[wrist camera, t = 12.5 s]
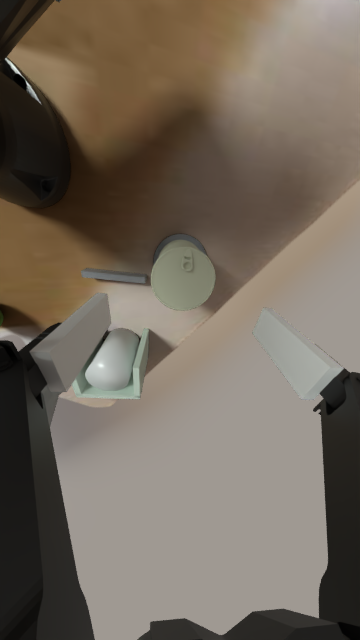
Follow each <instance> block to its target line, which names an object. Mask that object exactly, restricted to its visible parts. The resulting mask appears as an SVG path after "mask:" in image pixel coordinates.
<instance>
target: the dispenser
mask: <svg viewBox="0 0 360 640" xmlns="http://www.w3.org/2000/svg"><path fill="white" fill-rule="evenodd" d="M81 273H82V277H86V278H96V279H106V280H116V281H125V282H135V283H146V281H147V275H146V274H137V273H128V272H119V271H109V270H100V269H91V268H86V269H84V270H82V271H81ZM148 348H149V329H144V331H143V334H142V338H141V341H140V340H139V338H138V336H137V335H136V334H135V333H134V332H132V331H131V330H128V329H124V328H118V329H114V330H112V331H111V332H110V333H109V334H108V336H107V338H106V339H105V341H104V343H103V337H102V338H101V340H100V341H99V343H98V344H97V346H96V348H95V349H94V351H93V352H92V354H91V355H90V357H89V358H88V360H87V361H86V363H85V365H84V366H83V368H82V369H81V371H80V372H79V374H78V375H77V377H76V378H75V380H74V382H73V383H72V387H73V389H74V392H75V394H76V397H87V398H115V399H140V396H141V392H142V387H143V382H144V377H145V372H146V366H147V361H148Z"/></svg>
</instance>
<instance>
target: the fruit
mask: <svg viewBox="0 0 360 640" xmlns="http://www.w3.org/2000/svg"><path fill="white" fill-rule="evenodd" d="M2 322H3V314H2V312H1V311H0V326H1V324H2Z"/></svg>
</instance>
